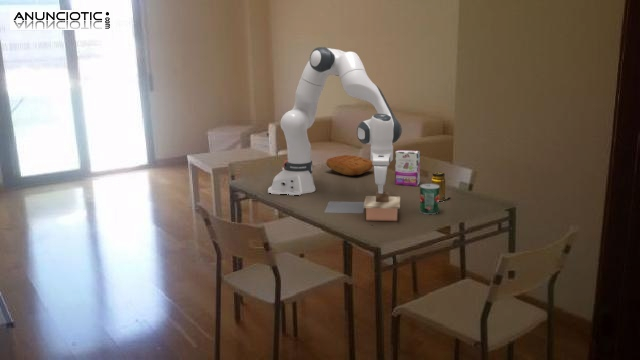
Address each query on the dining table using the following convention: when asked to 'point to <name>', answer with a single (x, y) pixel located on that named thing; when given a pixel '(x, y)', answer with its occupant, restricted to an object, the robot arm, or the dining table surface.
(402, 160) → the candy bar box
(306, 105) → the robot arm
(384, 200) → the lid
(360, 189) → the dining table surface
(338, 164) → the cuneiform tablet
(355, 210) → the mat
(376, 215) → the rectangular open box
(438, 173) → the condiment
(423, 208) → the canned tomato
